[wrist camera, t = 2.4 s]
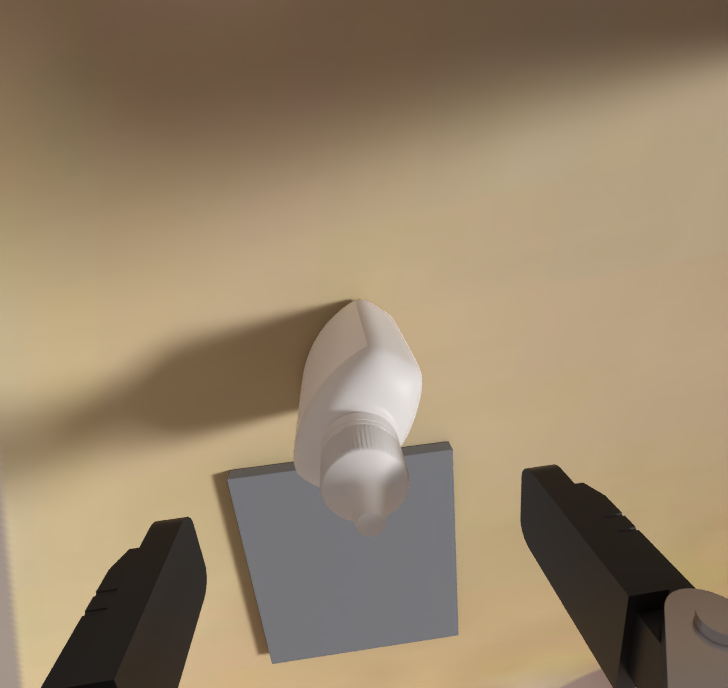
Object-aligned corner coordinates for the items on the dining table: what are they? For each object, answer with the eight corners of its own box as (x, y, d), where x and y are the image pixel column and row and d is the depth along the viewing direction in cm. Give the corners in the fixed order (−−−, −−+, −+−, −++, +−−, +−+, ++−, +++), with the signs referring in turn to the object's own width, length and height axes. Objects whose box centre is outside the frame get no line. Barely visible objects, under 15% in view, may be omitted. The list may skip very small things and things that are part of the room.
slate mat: (230, 470, 23) (227, 479, 22) (448, 441, 23) (452, 449, 23) (273, 651, 28) (272, 663, 27) (454, 623, 28) (458, 635, 27)
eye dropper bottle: (274, 342, 21) (214, 514, 9) (375, 285, 20) (437, 396, 9) (320, 410, 22) (315, 631, 11) (415, 359, 22) (513, 534, 10)
